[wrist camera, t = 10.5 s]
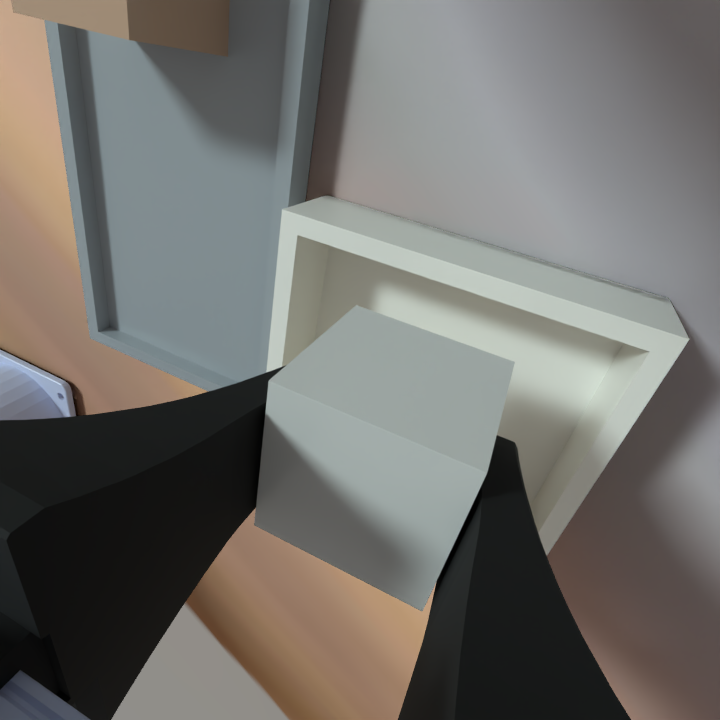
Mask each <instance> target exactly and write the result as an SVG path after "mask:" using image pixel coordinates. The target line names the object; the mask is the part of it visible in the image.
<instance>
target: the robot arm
mask: <svg viewBox="0 0 720 720" xmlns="http://www.w3.org/2000/svg"><path fill="white" fill-rule="evenodd" d="M285 366H286V365H285ZM285 366H283V367H280V368H277V369H275V370H272V371H269V372H267V373H264V374H261V375H258V376H255V377H252V378H250V379H247V380H244V381H241V382H238V383H235V384H232V385H229V386H225V387H222V388H219V389H216V390H212V391H209V392H206V393H202V394H199V395H195V396H192V397H188V398H184V399H180V400H176V401H171V402H166V403H162V404H157V405H152V406H147V407H141V408H134V409H128V410H121V411H114V412H108V413H101V414H93V415H83V416H76V412H75V407H74V401H73V396H72V390H71V387H70V385H69V384H68V383H67V382H66V381H64V380H62V379H60V378H58V377H56V376H54V375H52V374H50V373H48V372H46V371H44V370H41V369H39V368H37V367H35V366H33V365H31V364H29V363H27V362H25V361H23V360H21V359H19V358H17V357H15V356H13V355H11V354H9V353H6V352H4V351H2V350H0V720H111V719H112V717H113V715H114V714H115V712H116V710H117V709H118V707H119V705H120V704H121V702H122V701H123V699H124V697H125V696H126V694H127V692H128V691H129V689H130V687H131V686H132V684H133V683H134V681H135V679H136V678H137V676H138V674H139V673H140V671H141V669H142V668H143V666H144V665H145V663H146V662H147V660H148V658H149V657H150V655H151V654H152V652H153V651H154V649H155V648H156V646H157V644H158V643H159V641H160V639H161V638H162V637H163V635H164V634H165V632H166V631H167V629H168V627H169V626H170V624H171V623H172V621H173V620H174V618H175V617H176V615H177V614H178V612H179V611H180V609H181V608H182V606H183V605H184V603H185V602H186V600H187V599H188V597H189V596H190V594H191V593H192V591H193V590H194V588H195V587H196V586H197V584H198V583H199V581H200V580H201V578H202V577H203V575H204V574H205V572H206V571H207V570H208V568H209V567H210V565H211V564H212V562H213V561H214V560H215V558H216V557H217V555H218V554H219V553H220V551H221V550H222V548H223V547H224V546H225V544H226V543H227V541H228V540H229V539H230V537H231V536H232V535H233V534H234V532H235V531H236V530H237V529H238V527H239V526H240V525H241V524H242V523H243V521H244V520H245V519H246V518H247V517H248V516H249V515H250V513H251V512H252V511H253V510H254V509H255V508H256V503H257V493H258V483H259V473H260V463H261V452H262V442H263V432H264V422H265V412H266V402H267V392H268V382H269V380H270V379H271V378H272V377H273V376H275V375H276V374H277V373H278V372H279V371H280V370H282V369H283V368H284V367H285ZM398 720H631V719H630V717H629V716H628V714H627V713H626V711H625V709H624V708H623V706H622V705H621V703H620V701H619V700H618V698H617V697H616V695H615V693H614V692H613V690H612V688H611V687H610V685H609V683H608V681H607V679H606V678H605V676H604V674H603V672H602V670H601V669H600V667H599V665H598V663H597V662H596V660H595V658H594V656H593V654H592V653H591V651H590V649H589V647H588V645H587V644H586V642H585V640H584V638H583V636H582V634H581V632H580V630H579V628H578V626H577V624H576V622H575V620H574V618H573V616H572V614H571V612H570V610H569V608H568V606H567V604H566V601H565V599H564V597H563V595H562V592H561V590H560V588H559V586H558V584H557V581H556V579H555V576H554V574H553V571H552V569H551V566H550V564H549V561H548V559H547V556H546V553H545V551H544V548H543V545H542V542H541V539H540V537H539V534H538V531H537V527H536V524H535V521H534V518H533V514H532V511H531V508H530V504H529V501H528V497H527V493H526V489H525V485H524V481H523V476H522V472H521V467H520V461H519V455H518V448H517V446H516V444H515V442H513V441H511V440H508V439H506V438H503V437H501V436H498V435H497V436H496V440H495V444H494V448H493V452H492V456H491V460H490V464H489V468H488V472H487V475H486V477H485V479H484V481H483V483H482V485H481V487H480V490H479V492H478V494H477V496H476V498H475V500H474V502H473V504H472V507H471V509H470V511H469V513H468V515H467V517H466V519H465V521H464V524H463V526H462V528H461V530H460V532H459V534H458V536H457V539H456V541H455V543H454V545H453V547H452V549H451V551H450V553H449V556H448V558H447V560H446V562H445V564H444V566H443V568H442V570H441V573H440V575H439V577H438V579H437V582H436V587H435V592H434V596H433V601H432V605H431V610H430V615H429V619H428V624H427V627H426V631H425V635H424V639H423V643H422V646H421V649H420V652H419V655H418V659H417V662H416V665H415V668H414V671H413V674H412V677H411V681H410V684H409V687H408V690H407V693H406V696H405V699H404V702H403V706H402V709H401V712H400V715H399V718H398Z"/></svg>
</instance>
